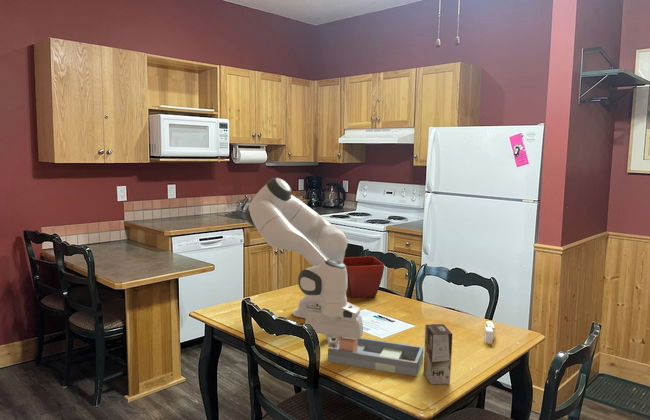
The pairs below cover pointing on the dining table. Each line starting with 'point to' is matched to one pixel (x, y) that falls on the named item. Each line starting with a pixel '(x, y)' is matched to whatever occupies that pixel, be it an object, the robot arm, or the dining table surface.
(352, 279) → the plant pot
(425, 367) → the coffee box
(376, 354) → the tray
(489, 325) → the napkin holder
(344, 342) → the block
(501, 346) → the dining table surface
